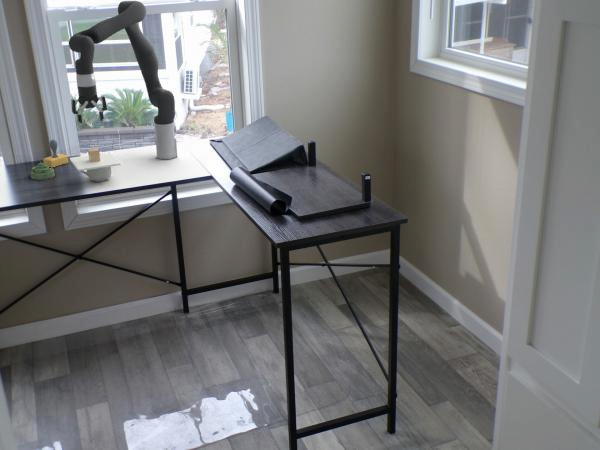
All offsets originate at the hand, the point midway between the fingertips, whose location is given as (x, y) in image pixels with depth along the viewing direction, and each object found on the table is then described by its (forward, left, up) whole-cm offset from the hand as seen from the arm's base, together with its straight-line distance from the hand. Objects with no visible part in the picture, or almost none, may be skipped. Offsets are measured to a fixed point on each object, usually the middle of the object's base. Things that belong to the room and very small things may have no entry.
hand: (91, 121), depth 288 cm
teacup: (+1, +1, -26) cm, 26 cm away
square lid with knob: (+1, +1, -18) cm, 18 cm away
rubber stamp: (+13, -29, -26) cm, 41 cm away
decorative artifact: (+21, -15, -26) cm, 37 cm away
